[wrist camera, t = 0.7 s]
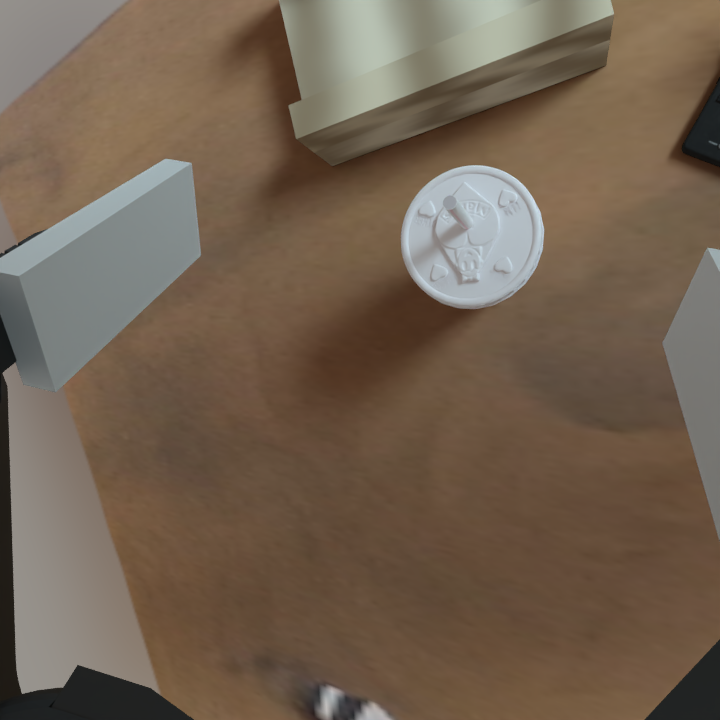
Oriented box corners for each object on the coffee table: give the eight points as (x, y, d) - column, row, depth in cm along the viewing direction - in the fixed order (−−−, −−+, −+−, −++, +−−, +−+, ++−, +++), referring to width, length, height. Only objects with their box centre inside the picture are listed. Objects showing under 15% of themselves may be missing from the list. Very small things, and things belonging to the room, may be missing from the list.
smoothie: (545, 201, 34) (534, 115, 21) (552, 311, 34) (545, 294, 21) (436, 216, 36) (364, 147, 23) (443, 320, 36) (375, 310, 23)
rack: (555, -136, 33) (553, -223, 28) (606, 65, 33) (613, 14, 28) (292, -8, 39) (250, -61, 34) (332, 166, 38) (296, 139, 33)
